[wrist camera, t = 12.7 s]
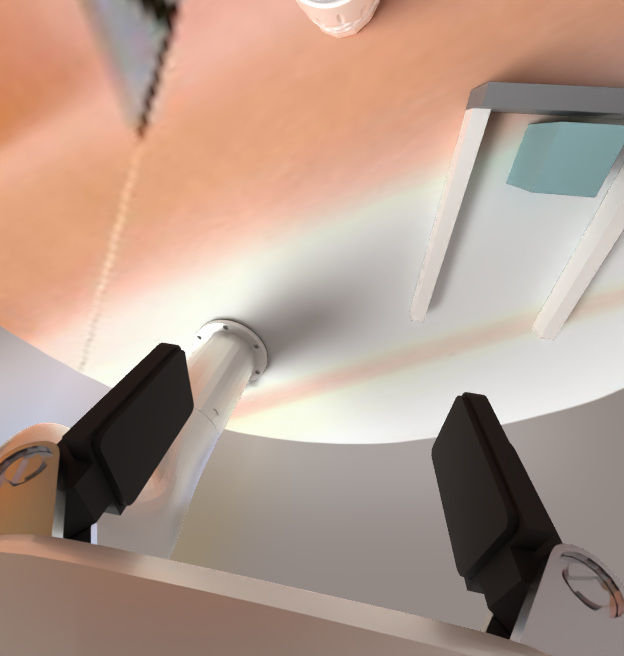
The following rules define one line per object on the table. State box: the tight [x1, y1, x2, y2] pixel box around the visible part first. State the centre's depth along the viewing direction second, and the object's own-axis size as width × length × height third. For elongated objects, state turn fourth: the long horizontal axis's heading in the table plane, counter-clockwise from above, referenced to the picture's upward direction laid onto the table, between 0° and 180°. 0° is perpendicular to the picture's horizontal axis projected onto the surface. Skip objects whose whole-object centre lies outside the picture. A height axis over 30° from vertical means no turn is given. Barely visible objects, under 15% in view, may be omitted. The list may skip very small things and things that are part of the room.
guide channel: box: [410, 82, 624, 340], centre depth 30 cm, size 24×17×5 cm
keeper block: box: [506, 122, 624, 197], centre depth 26 cm, size 5×5×6 cm
